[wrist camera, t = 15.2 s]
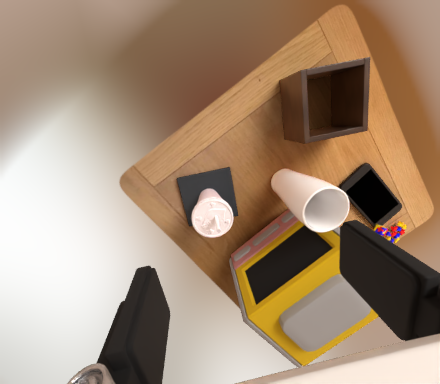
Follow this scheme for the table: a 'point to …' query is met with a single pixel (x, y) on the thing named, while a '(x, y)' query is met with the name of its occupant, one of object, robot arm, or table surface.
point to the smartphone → (371, 195)
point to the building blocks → (383, 230)
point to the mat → (207, 180)
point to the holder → (340, 101)
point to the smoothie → (212, 214)
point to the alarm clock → (297, 289)
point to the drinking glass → (311, 199)
